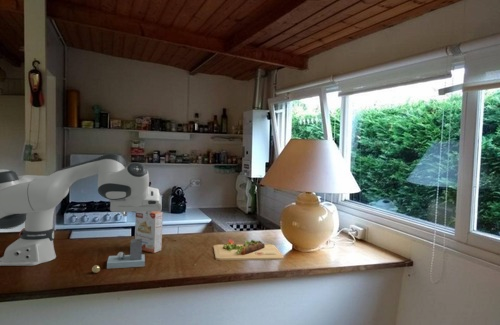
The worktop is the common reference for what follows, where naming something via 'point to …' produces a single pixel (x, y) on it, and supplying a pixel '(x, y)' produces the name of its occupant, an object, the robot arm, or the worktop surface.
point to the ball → (120, 255)
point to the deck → (124, 262)
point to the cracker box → (149, 230)
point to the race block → (136, 249)
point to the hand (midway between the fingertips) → (136, 214)
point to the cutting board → (247, 251)
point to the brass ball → (95, 268)
